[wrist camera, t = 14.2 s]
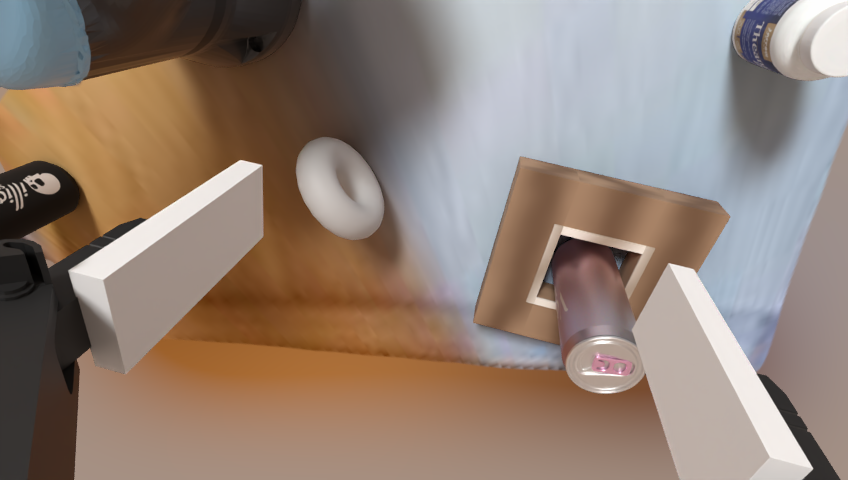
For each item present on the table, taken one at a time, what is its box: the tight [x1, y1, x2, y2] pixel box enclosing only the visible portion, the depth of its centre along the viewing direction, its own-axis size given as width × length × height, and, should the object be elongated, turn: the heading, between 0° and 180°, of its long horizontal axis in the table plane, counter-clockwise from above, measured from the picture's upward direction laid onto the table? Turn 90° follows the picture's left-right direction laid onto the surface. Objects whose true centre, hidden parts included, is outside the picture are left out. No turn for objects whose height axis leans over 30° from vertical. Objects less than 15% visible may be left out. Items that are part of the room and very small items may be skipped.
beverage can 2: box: [552, 238, 645, 394], centre depth 40 cm, size 6×6×15 cm
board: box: [473, 156, 730, 345], centre depth 45 cm, size 18×18×3 cm
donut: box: [296, 137, 384, 240], centre depth 42 cm, size 10×4×10 cm, turn 34°
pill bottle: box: [732, 0, 848, 81], centre depth 30 cm, size 5×5×10 cm
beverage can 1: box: [0, 161, 79, 240], centre depth 49 cm, size 7×7×12 cm
